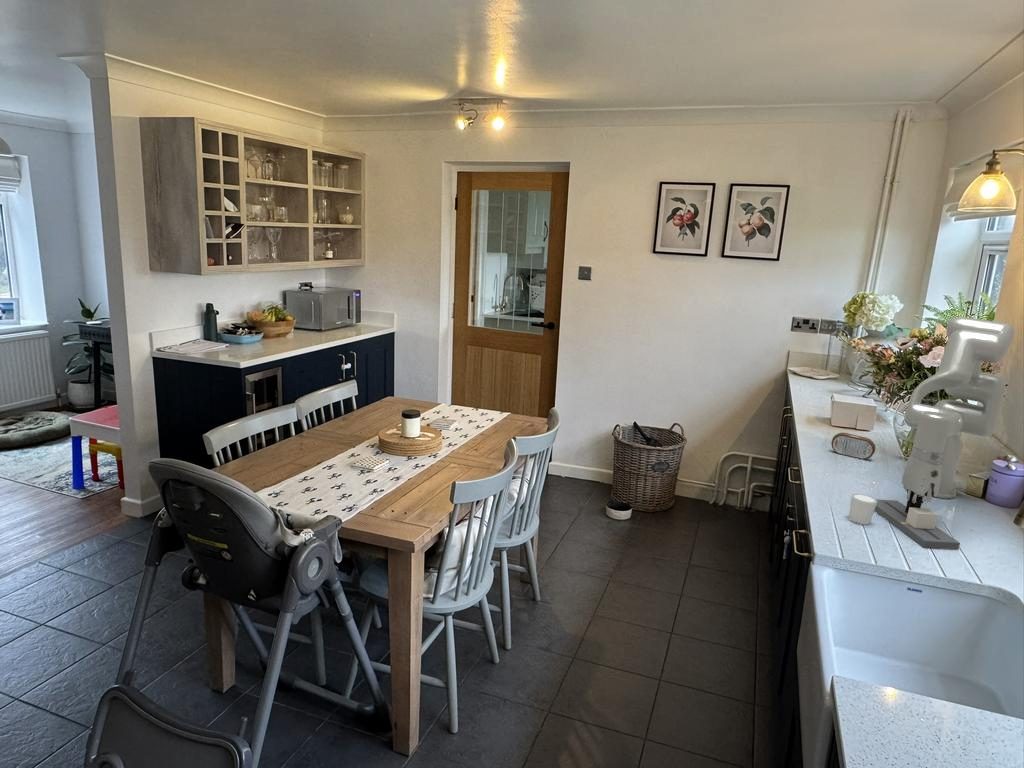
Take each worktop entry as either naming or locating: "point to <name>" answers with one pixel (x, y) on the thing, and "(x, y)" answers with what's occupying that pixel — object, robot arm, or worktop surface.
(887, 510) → the fader track
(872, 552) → the worktop surface
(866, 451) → the tin
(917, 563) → the worktop surface
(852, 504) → the white cylinder
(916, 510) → the fader knob
